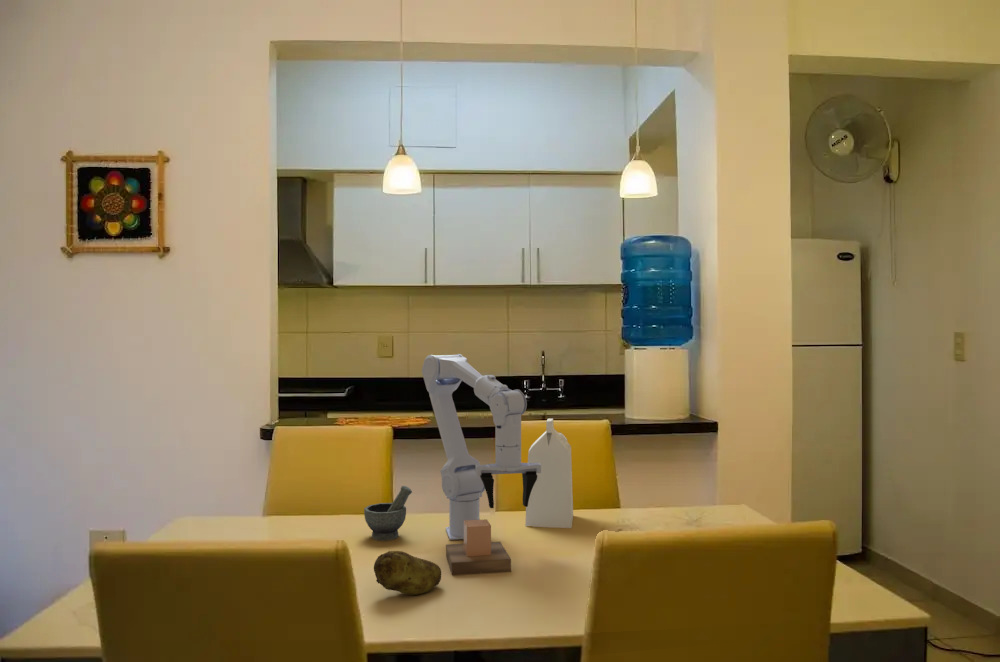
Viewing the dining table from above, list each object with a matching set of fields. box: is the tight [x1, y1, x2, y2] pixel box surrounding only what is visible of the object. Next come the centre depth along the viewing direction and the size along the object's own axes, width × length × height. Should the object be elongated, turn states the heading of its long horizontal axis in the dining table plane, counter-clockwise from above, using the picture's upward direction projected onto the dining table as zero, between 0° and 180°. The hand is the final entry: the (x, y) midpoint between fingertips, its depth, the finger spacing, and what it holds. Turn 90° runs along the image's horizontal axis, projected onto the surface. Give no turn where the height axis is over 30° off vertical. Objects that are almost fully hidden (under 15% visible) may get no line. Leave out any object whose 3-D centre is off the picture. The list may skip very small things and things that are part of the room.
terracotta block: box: [463, 518, 492, 556], centre depth 146 cm, size 5×5×6 cm
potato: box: [373, 550, 442, 596], centre depth 130 cm, size 8×13×8 cm, turn 103°
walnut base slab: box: [445, 541, 512, 576], centre depth 146 cm, size 12×12×2 cm
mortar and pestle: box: [363, 485, 413, 542], centre depth 166 cm, size 11×9×12 cm
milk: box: [524, 418, 574, 529], centre depth 180 cm, size 12×12×26 cm
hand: (508, 506), depth 155 cm, fingers open, 7 cm apart
